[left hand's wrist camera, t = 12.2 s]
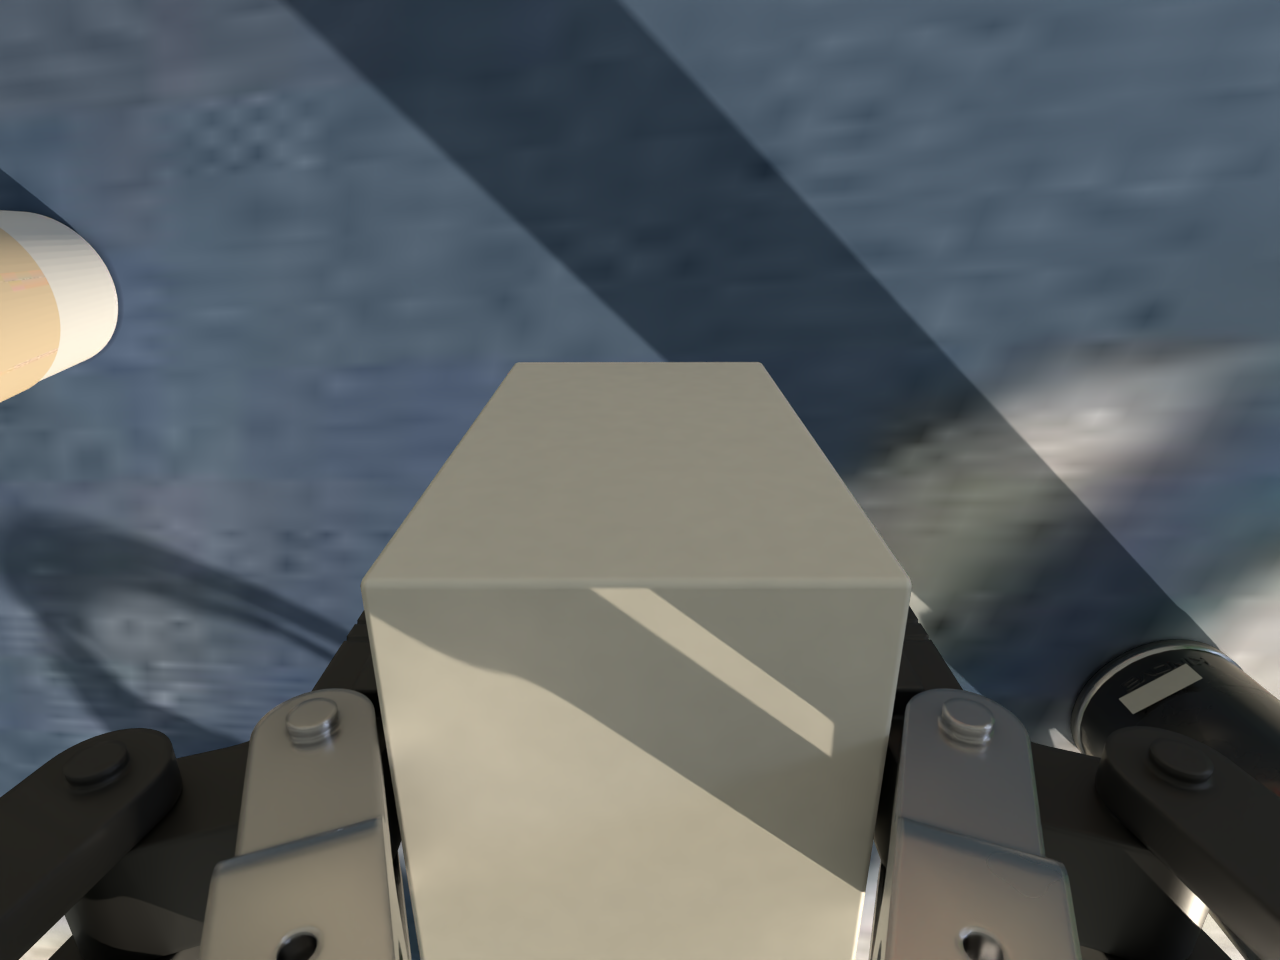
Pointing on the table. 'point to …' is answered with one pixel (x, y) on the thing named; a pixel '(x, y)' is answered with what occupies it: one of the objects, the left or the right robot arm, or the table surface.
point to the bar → (637, 674)
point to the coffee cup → (49, 300)
